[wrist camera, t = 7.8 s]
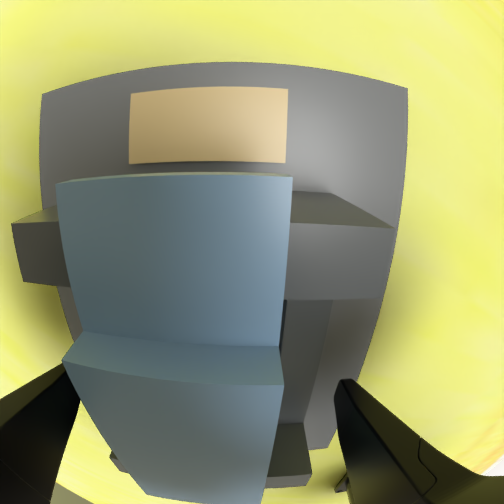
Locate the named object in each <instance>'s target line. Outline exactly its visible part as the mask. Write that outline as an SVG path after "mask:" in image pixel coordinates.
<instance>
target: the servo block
mask: <svg viewBox="0 0 504 504" xmlns="http://www.w3.org/2000/svg"><path fill="white" fill-rule="evenodd" d="M292 182H293V177H291V176H290V175H288V174H275V173H249V172H172V173H147V174H129V175H115V176H102V177H92V178H82V179H73V180H69V181H65V182H61V183H57V184H55V187H56V200H57V210H58V218H59V226H60V233H61V240H62V246H63V251H64V257H65V262H66V267H67V272H68V276H69V281H70V285H71V289H72V293H73V297H74V301H75V305H76V308H77V312H78V315H79V319H80V322H81V325H82V328H83V332H82V333H81V334H80V336H79V337H78V338H77V340H76V341H75V342H74V344H73V345H72V346H71V348H70V349H69V350H68V352H67V353H66V354H65V356H64V357H63V359H62V363H63V365H64V367H65V369H66V371H67V373H68V376H69V378H70V380H71V382H72V384H73V386H74V388H75V390H76V392H77V394H78V396H79V397H80V399H81V401H82V403H83V405H84V407H85V408H86V410H87V412H88V414H89V415H90V417H91V419H92V420H93V422H94V424H95V425H96V427H97V429H98V430H99V432H100V433H101V435H102V436H103V438H104V439H105V441H106V442H107V444H108V445H109V447H110V448H111V450H112V451H113V453H114V454H115V455H116V457H117V458H118V460H119V461H120V462H121V464H122V465H123V466H124V468H125V469H126V470H127V471H128V473H129V474H130V475H131V477H132V478H133V479H134V480H135V481H136V483H137V484H138V485H139V486H140V487H141V489H142V490H143V491H144V492H145V493H146V494H147V495H151V496H156V497H162V498H167V499H173V500H179V501H187V502H195V503H204V504H261V500H262V496H263V492H264V487H265V483H266V478H267V474H268V469H269V464H270V460H271V455H272V450H273V445H274V440H275V435H276V429H277V424H278V419H279V413H280V407H281V402H282V396H283V390H284V379H283V372H282V366H281V359H280V352H279V339H280V330H281V320H282V310H283V300H284V290H285V279H286V267H287V255H288V242H289V229H290V215H291V199H292Z"/></svg>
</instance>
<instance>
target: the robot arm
mask: <svg viewBox="0 0 504 504" xmlns="http://www.w3.org/2000/svg"><path fill="white" fill-rule="evenodd" d="M80 400H81V399H80V397H79V396H78V394H77V392H76V390H75V388H74V386H73V384H72V382H71V380H70V378H69V376H68V373H67V371H66V369H65V367H64V365H63V363H61V364H60V365H58V366H56V367H54V368H53V369H51V370H49V371H48V372H46V373H44V374H42V375H41V376H39V377H37V378H36V379H34V380H32V381H30V382H29V383H27V384H25V385H24V386H22V387H20V388H18V389H17V390H15V391H13V392H12V393H10V394H8V395H6V396H5V397H3V398H1V399H0V504H50V501H51V497H52V492H53V489H54V485H55V481H56V478H57V474H58V471H59V467H60V464H61V460H62V457H63V454H64V451H65V448H66V445H67V442H68V439H69V436H70V433H71V430H72V427H73V424H74V422H75V419H76V415H77V412H78V408H79V404H80ZM334 407H335V414H336V422H337V429H338V436H339V441H340V446H341V449H342V453H343V457H344V461H345V465H346V469H347V474H346V475H345V476H344V478H343V479H342V480H341V482H340V483H339V484H338V485H337V486H336V488H335V489H334V490H335V493H339V492H344V491H347V494H348V499H349V503H350V504H504V476H483V475H479V474H476V473H474V472H472V471H470V470H469V469H467V468H465V467H464V466H462V465H460V464H459V463H457V462H455V461H454V460H452V459H450V458H449V457H447V456H446V455H444V454H443V453H441V452H440V451H438V450H437V449H436V448H434V447H433V446H432V445H430V444H429V443H428V442H427V441H425V440H424V439H423V438H420V436H419V435H418V434H417V433H415V432H414V431H413V430H412V429H411V428H409V427H408V426H407V425H406V424H405V423H403V422H402V421H401V420H400V419H399V418H398V417H396V416H395V415H394V414H393V413H392V412H390V411H389V410H388V409H387V408H386V407H385V406H383V405H382V404H381V403H380V402H379V401H378V400H376V399H375V398H374V397H373V396H372V395H371V394H369V393H368V392H367V391H366V390H365V389H364V388H362V387H361V386H360V385H359V384H358V383H357V382H356V381H354V380H353V379H351V378H347V379H340V380H339V382H338V385H337V388H336V391H335V394H334Z"/></svg>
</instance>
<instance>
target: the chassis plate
mask: <svg viewBox="0 0 504 504" xmlns="http://www.w3.org/2000/svg"><path fill="white" fill-rule="evenodd" d="M407 132H408V88H405V87H401V86H398V85H394V84H391V83H387V82H383V81H380V80H376V79H371V78H367V77H363V76H358V75H354V74H349V73H343V72H338V71H332V70H326V69H320V68H312V67H305V66H296V65H286V64H273V63H253V62H211V63H191V64H179V65H169V66H160V67H152V68H145V69H139V70H133V71H127V72H122V73H117V74H112V75H107V76H103V77H98V78H94V79H90V80H86V81H83V82H79V83H75V84H72V85H69V86H65V87H62V88H59V89H56V90H53V91H50V92H47V93H44V94H42V102H41V114H40V136H39V161H40V183H41V196H42V207H43V210H42V211H39V212H37V213H34V214H32V215H29V216H27V217H25V218H22V219H20V220H18V221H16V222H13V223H11V226H12V232H13V238H14V243H15V248H16V253H17V258H18V262H19V266H20V270H21V274H22V278H23V282H30V283H37V284H45V285H53V286H57V289H58V293H59V296H60V300H61V304H62V307H63V310H64V314H65V317H66V320H67V323H68V326H69V329H70V332H71V335H72V338H73V341H74V342H75V341H76V340H77V338H78V337H79V336H80V334H81V333H82V332H83V328H82V325H81V322H80V319H79V315H78V312H77V308H76V305H75V301H74V297H73V293H72V289H71V285H70V281H69V276H68V272H67V267H66V262H65V257H64V251H63V246H62V240H61V233H60V226H59V218H58V210H57V200H56V187H55V184H57V183H61V182H65V181H69V180H73V179H82V178H92V177H102V176H115V175H129V174H147V173H172V172H249V173H275V174H288V175H290V176H291V177H293V182H292V199H291V215H290V229H289V242H288V255H287V267H286V279H285V290H284V300H283V310H282V320H281V330H280V339H279V352H280V359H281V366H282V372H283V379H284V390H283V396H282V402H281V407H280V413H279V419H278V424H277V429H276V435H275V440H274V445H273V450H272V455H271V460H270V464H269V469H268V474H267V478H266V483H265V487H264V488H284V487H297V486H306V484H307V483H308V481H309V479H310V477H311V475H312V469H311V463H310V457H309V451H308V450H314V449H323V448H328V446H329V444H330V442H331V440H332V437H333V435H334V433H335V431H336V429H337V422H336V414H335V407H334V394H335V391H336V388H337V385H338V382H339V380H340V379H347V378H351V379H353V380H354V381H356V382H357V379H358V377H359V374H360V371H361V368H362V366H363V363H364V360H365V357H366V354H367V351H368V348H369V345H370V342H371V339H372V336H373V332H374V329H375V326H376V322H377V319H378V315H379V312H380V308H381V305H382V301H383V297H384V293H385V289H386V285H387V281H388V276H389V272H390V267H391V263H392V258H393V253H394V248H395V242H396V237H397V231H398V225H399V218H400V211H401V204H402V196H403V188H404V178H405V167H406V153H407ZM109 458H110V459H111V460H112V462H113V463H114V464H115V466H116V467H117V468H118V469H119V471H121V472H125V473H128V471H127V470H126V469H125V468H124V466H123V465H122V464H121V462H120V461H119V460H118V458H117V457H116V455H115V454H114V453H113V451H111V454H110V457H109Z"/></svg>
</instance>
